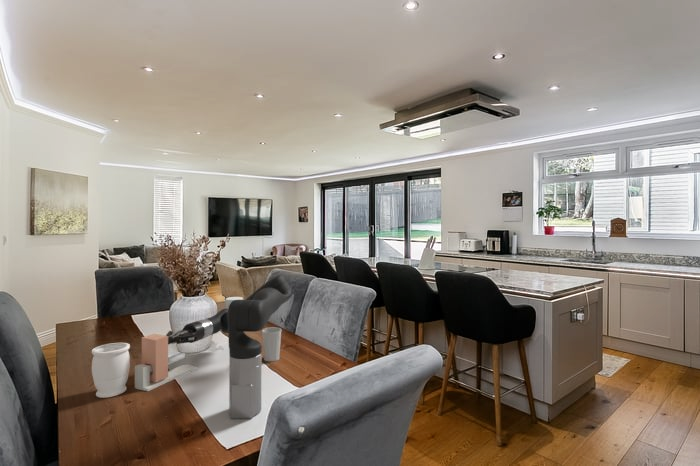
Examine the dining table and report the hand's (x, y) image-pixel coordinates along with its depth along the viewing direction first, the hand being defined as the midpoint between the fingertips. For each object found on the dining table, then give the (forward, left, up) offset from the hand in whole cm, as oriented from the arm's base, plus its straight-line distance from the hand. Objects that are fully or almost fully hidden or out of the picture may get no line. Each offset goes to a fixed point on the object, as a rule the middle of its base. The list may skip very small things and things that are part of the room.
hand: (161, 343), depth 132 cm
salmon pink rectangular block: (-2, +1, -12) cm, 12 cm away
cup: (+20, -36, -13) cm, 43 cm away
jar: (-10, +11, -13) cm, 20 cm away
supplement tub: (+72, -6, -13) cm, 74 cm away
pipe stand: (+1, -2, -13) cm, 13 cm away
